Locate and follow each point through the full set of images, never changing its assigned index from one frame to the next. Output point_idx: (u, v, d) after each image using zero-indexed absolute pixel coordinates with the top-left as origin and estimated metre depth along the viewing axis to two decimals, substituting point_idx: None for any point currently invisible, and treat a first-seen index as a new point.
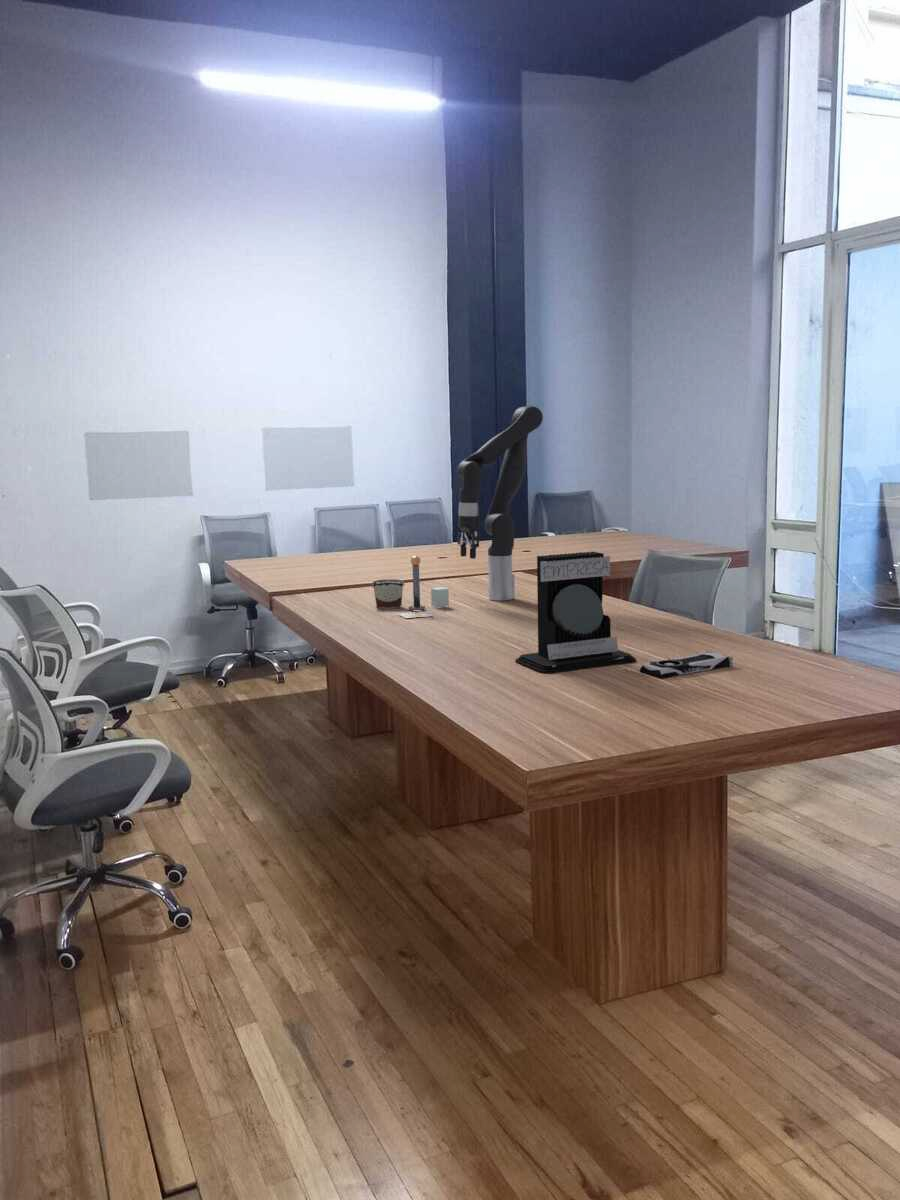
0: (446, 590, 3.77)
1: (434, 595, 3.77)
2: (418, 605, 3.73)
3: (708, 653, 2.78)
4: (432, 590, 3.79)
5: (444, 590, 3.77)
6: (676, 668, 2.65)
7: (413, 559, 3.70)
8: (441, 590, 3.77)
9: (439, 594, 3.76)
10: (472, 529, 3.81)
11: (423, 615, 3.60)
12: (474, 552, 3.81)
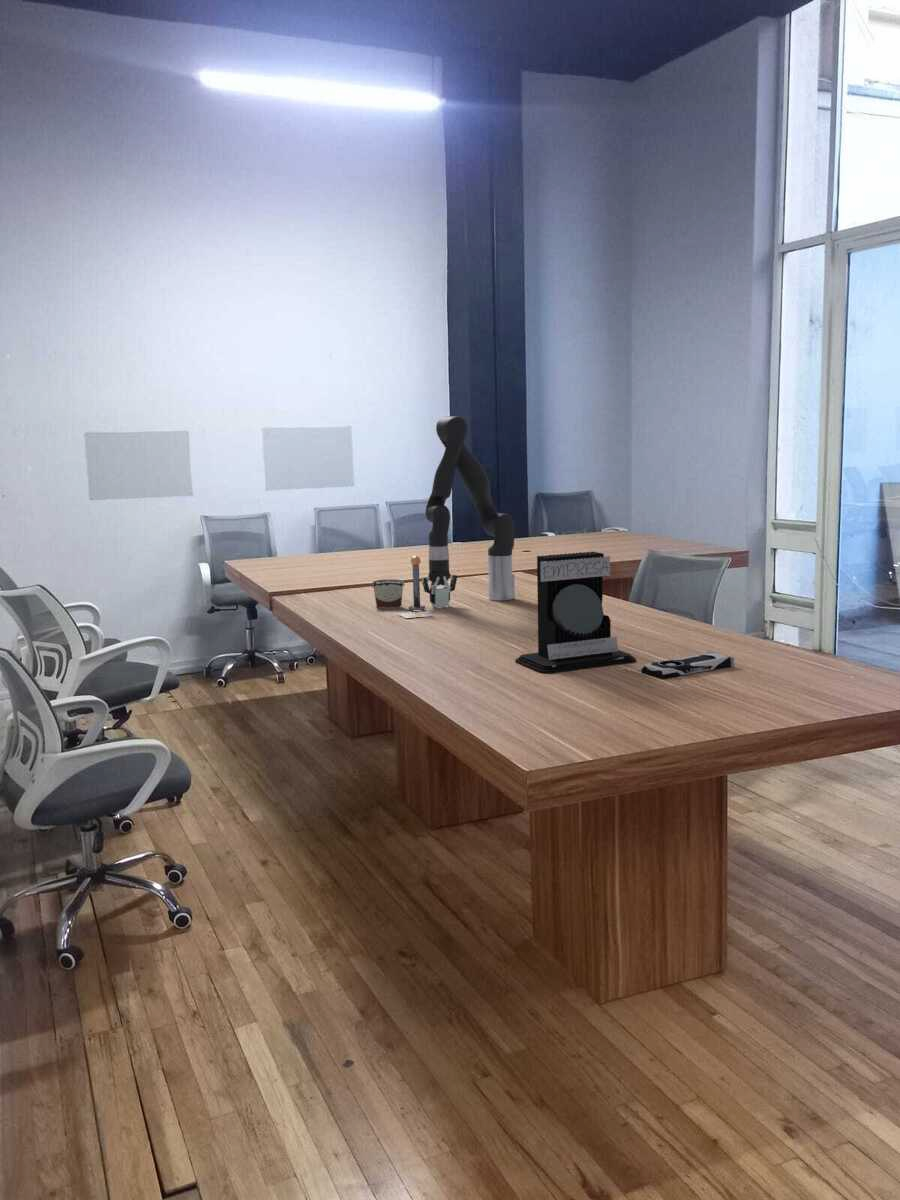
0: (446, 590, 3.77)
1: None
2: (418, 605, 3.73)
3: (709, 653, 2.78)
4: None
5: (444, 590, 3.77)
6: (678, 668, 2.64)
7: (413, 559, 3.70)
8: (441, 590, 3.77)
9: (439, 594, 3.76)
10: None
11: (423, 615, 3.60)
12: None
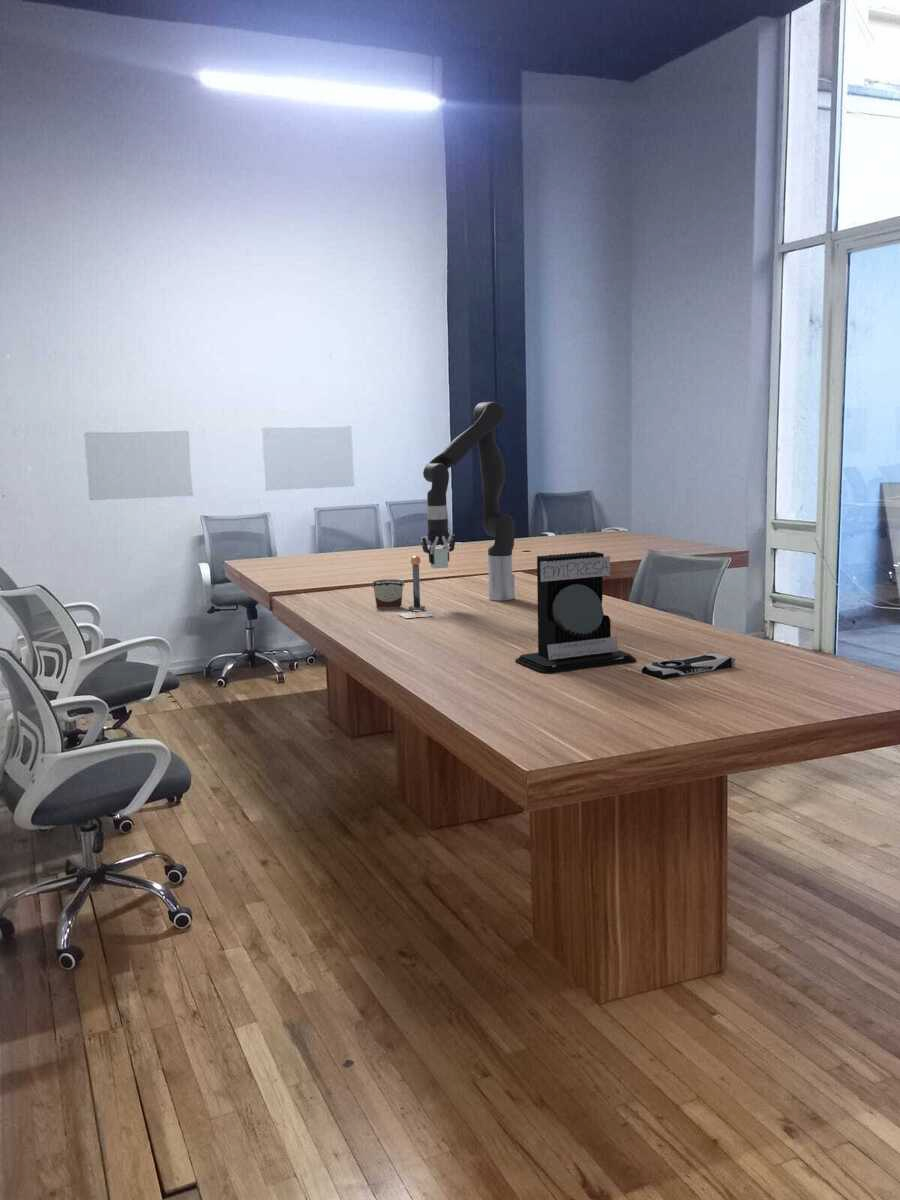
0: (445, 550, 3.75)
1: None
2: (418, 605, 3.73)
3: (710, 654, 2.77)
4: None
5: (443, 550, 3.75)
6: (678, 669, 2.64)
7: (413, 559, 3.70)
8: (440, 550, 3.74)
9: (438, 554, 3.74)
10: None
11: (423, 615, 3.60)
12: None
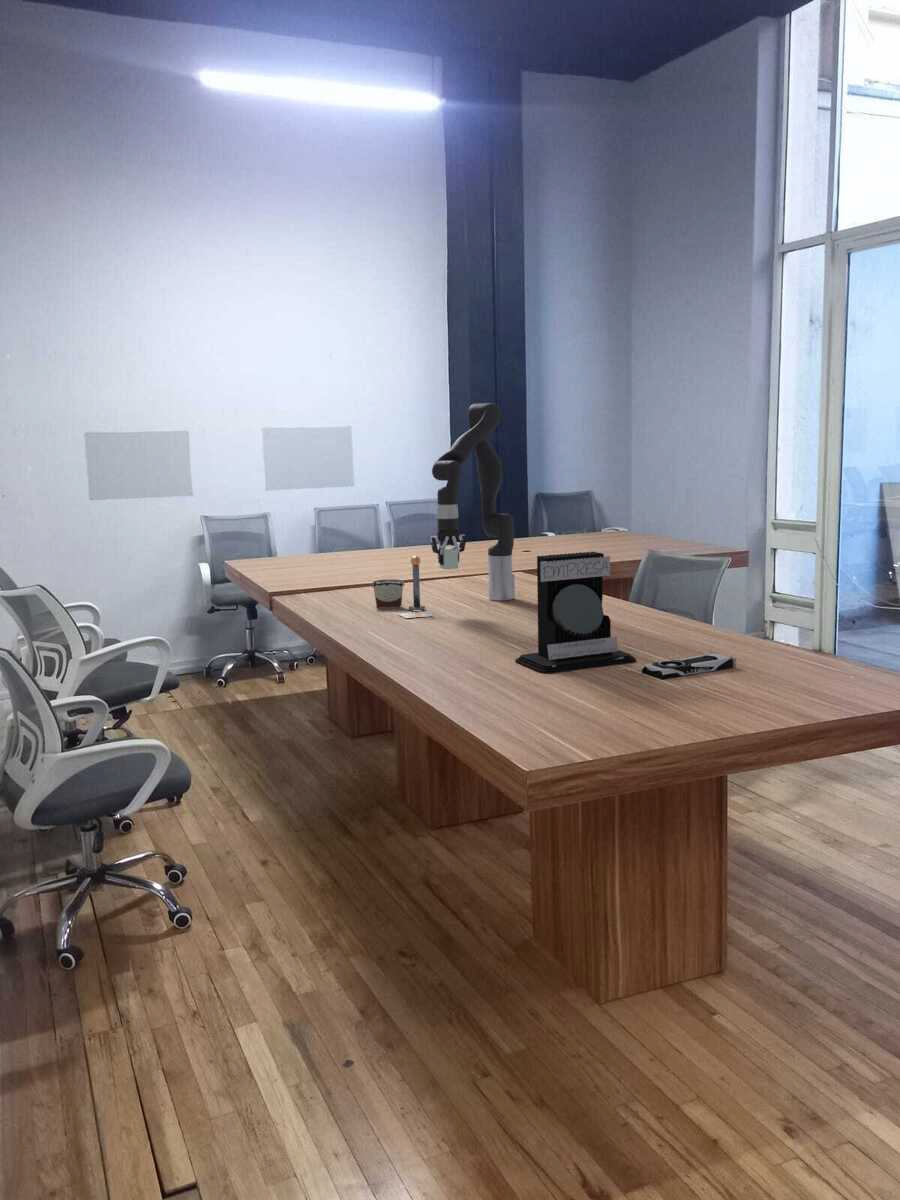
0: (455, 550, 3.62)
1: None
2: (418, 605, 3.73)
3: (712, 654, 2.77)
4: None
5: (453, 550, 3.62)
6: (678, 669, 2.64)
7: (413, 559, 3.70)
8: (450, 550, 3.61)
9: (448, 554, 3.61)
10: None
11: (423, 615, 3.60)
12: None
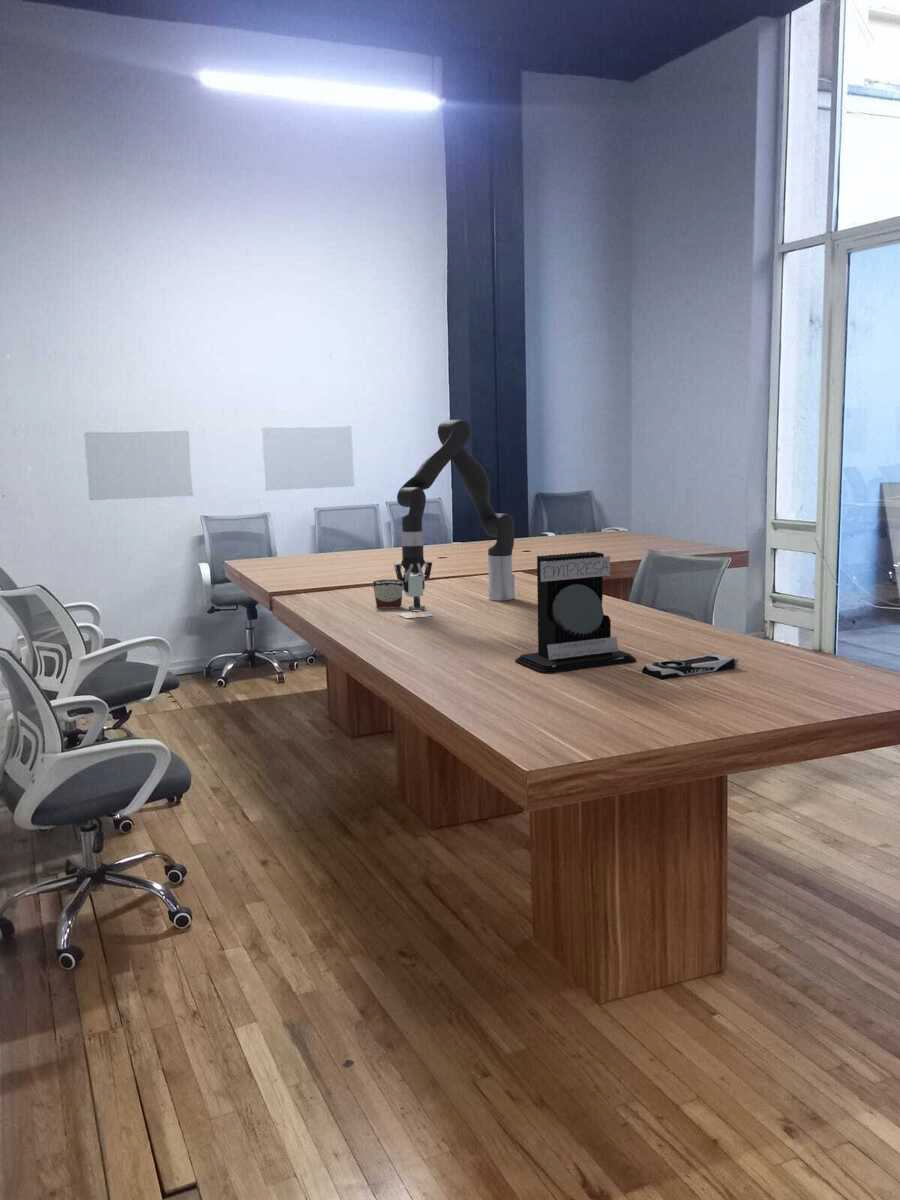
0: (420, 578, 3.59)
1: None
2: (418, 605, 3.73)
3: (714, 655, 2.76)
4: None
5: (418, 578, 3.58)
6: (678, 669, 2.63)
7: None
8: (415, 578, 3.58)
9: (413, 582, 3.58)
10: None
11: (423, 615, 3.60)
12: None
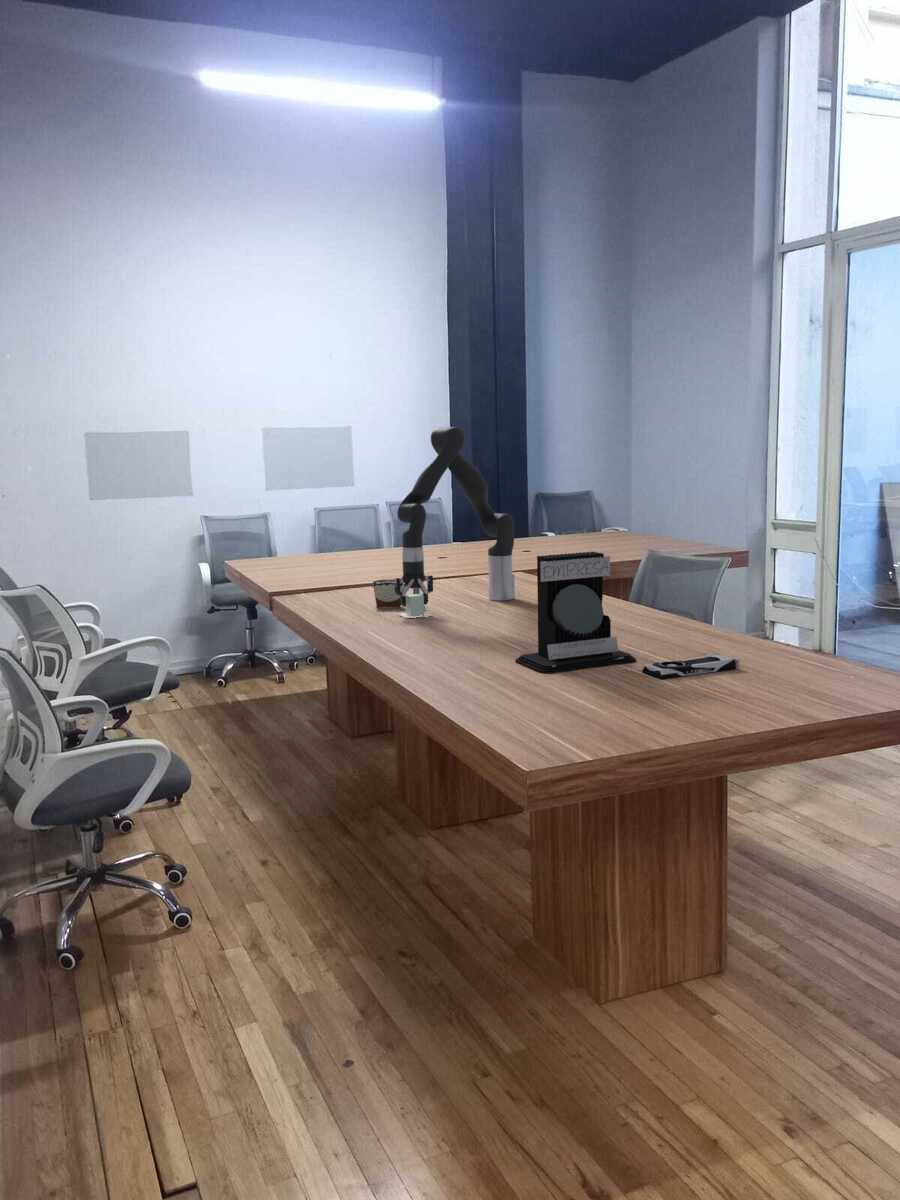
0: (421, 597, 3.60)
1: (409, 602, 3.60)
2: None
3: (716, 655, 2.75)
4: (407, 597, 3.61)
5: (419, 597, 3.59)
6: (677, 669, 2.63)
7: None
8: (416, 597, 3.59)
9: (414, 601, 3.59)
10: None
11: (423, 615, 3.60)
12: None
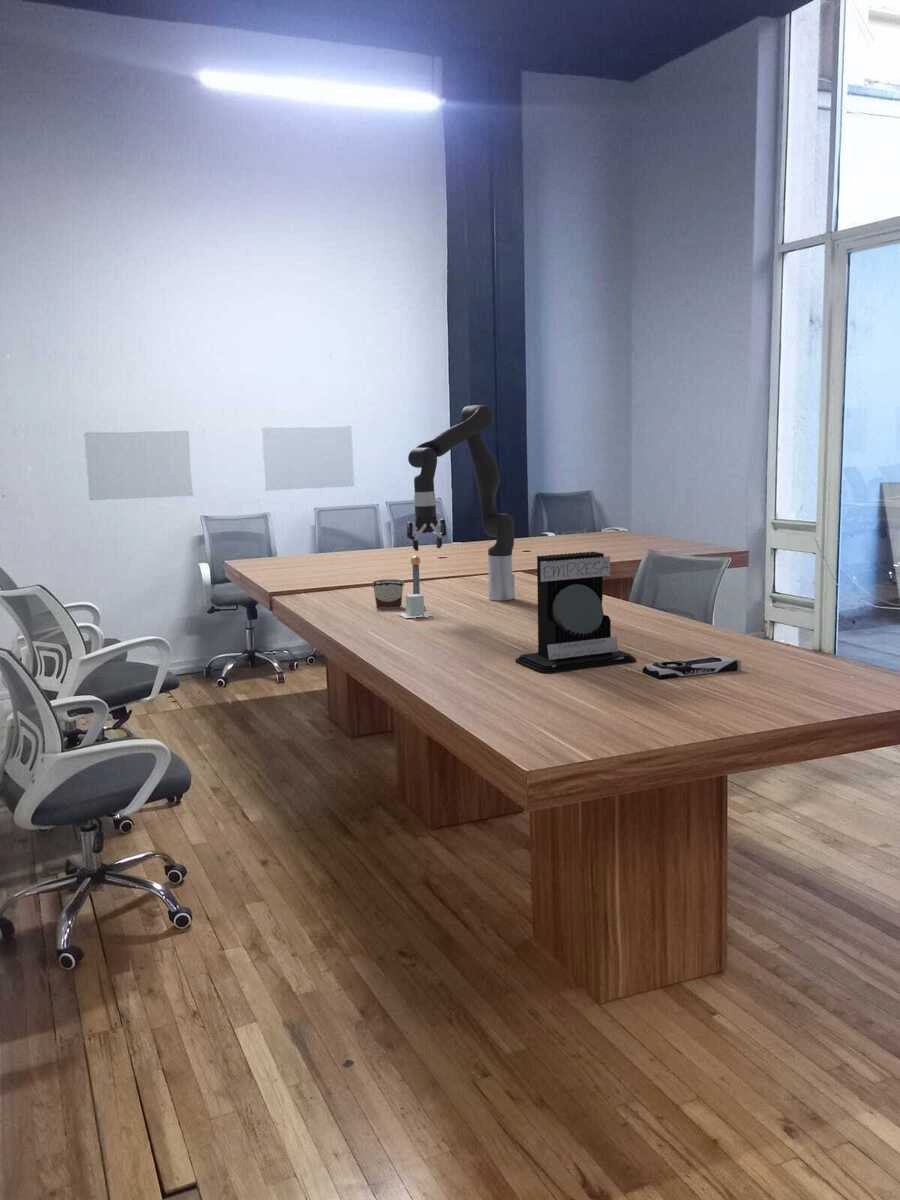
0: (421, 597, 3.60)
1: (409, 602, 3.60)
2: None
3: (718, 656, 2.74)
4: (407, 597, 3.61)
5: (419, 597, 3.59)
6: (676, 669, 2.63)
7: (413, 559, 3.70)
8: (416, 597, 3.59)
9: (414, 601, 3.59)
10: None
11: (423, 615, 3.60)
12: None
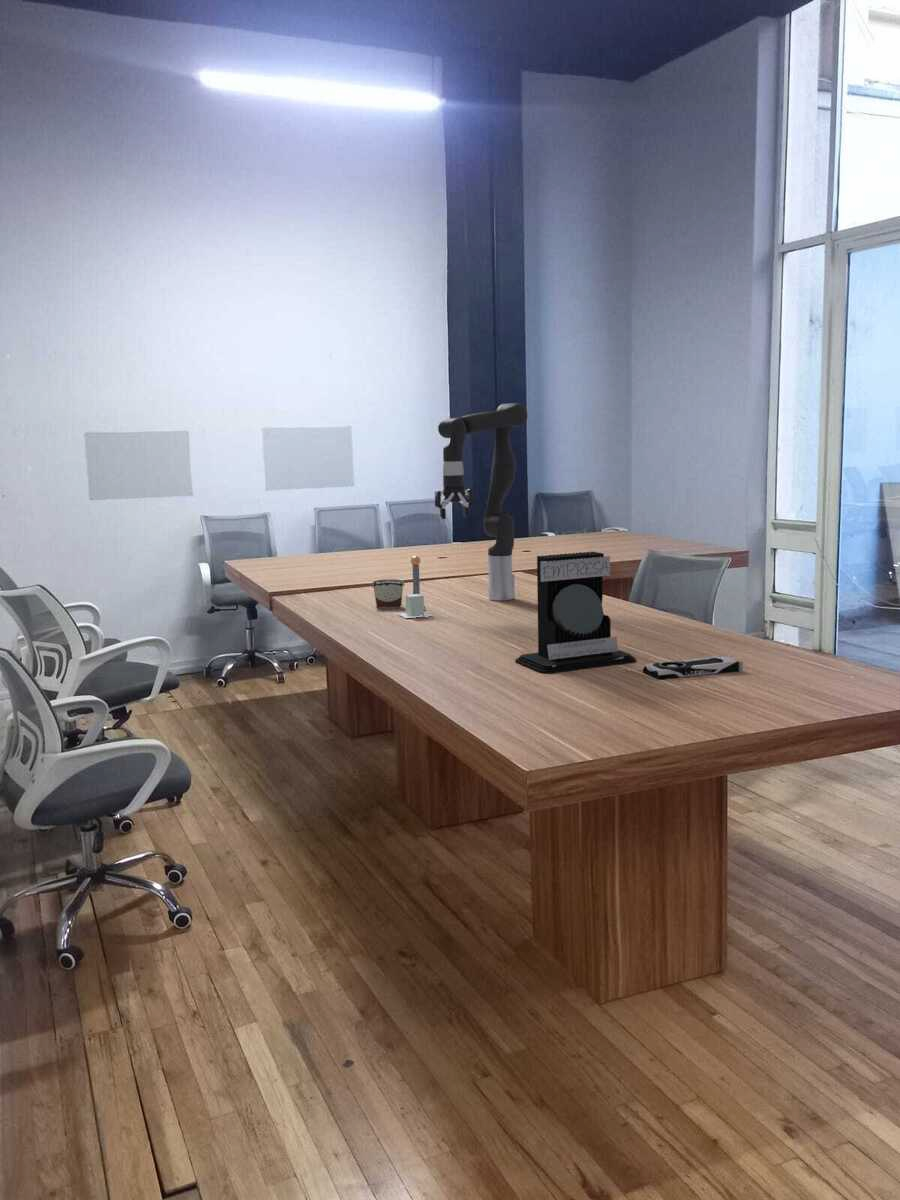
0: (421, 597, 3.60)
1: (409, 602, 3.60)
2: None
3: (720, 657, 2.73)
4: (407, 597, 3.61)
5: (419, 597, 3.59)
6: (676, 670, 2.63)
7: (413, 559, 3.70)
8: (416, 597, 3.59)
9: (414, 601, 3.59)
10: None
11: (423, 615, 3.60)
12: None
